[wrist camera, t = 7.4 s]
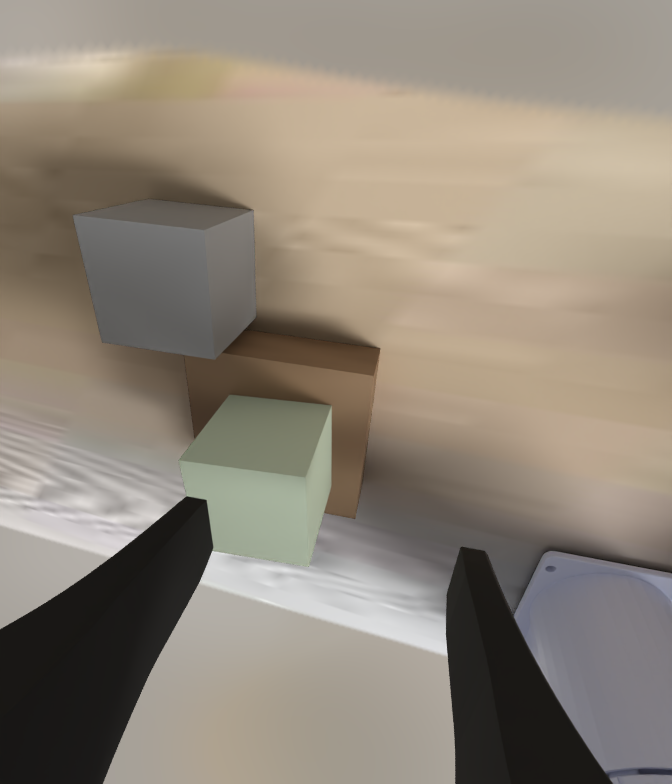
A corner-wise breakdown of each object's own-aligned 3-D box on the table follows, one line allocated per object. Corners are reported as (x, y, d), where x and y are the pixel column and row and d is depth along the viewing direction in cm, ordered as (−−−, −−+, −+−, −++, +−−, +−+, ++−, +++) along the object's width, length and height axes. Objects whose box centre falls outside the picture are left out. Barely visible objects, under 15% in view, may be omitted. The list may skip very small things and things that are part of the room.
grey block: (257, 316, 19) (215, 359, 16) (164, 303, 20) (102, 342, 16) (254, 209, 17) (203, 230, 13) (149, 198, 18) (72, 215, 14)
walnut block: (363, 477, 24) (355, 518, 21) (224, 452, 25) (201, 488, 22) (381, 344, 19) (373, 375, 17) (213, 321, 20) (182, 347, 18)
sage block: (331, 486, 20) (308, 567, 16) (240, 474, 21) (198, 548, 17) (331, 405, 18) (305, 477, 14) (229, 394, 19) (178, 460, 15)
